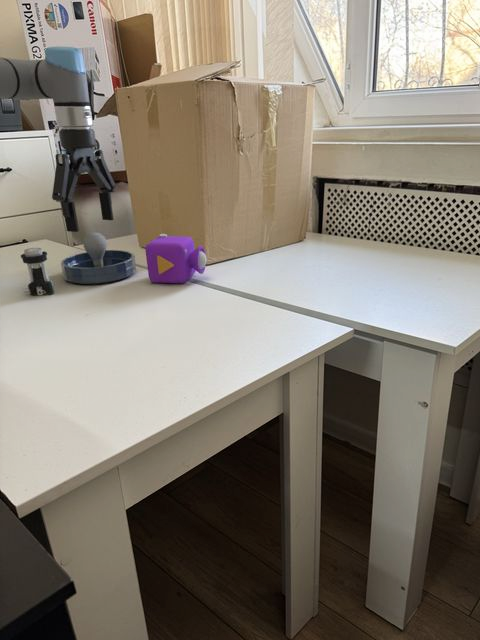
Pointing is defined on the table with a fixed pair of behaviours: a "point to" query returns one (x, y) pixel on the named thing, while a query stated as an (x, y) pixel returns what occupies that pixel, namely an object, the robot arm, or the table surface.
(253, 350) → the table surface
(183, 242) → the toy camera
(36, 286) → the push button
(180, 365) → the table surface
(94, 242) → the light bulb
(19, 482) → the table surface
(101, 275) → the bowl
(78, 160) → the robot arm
